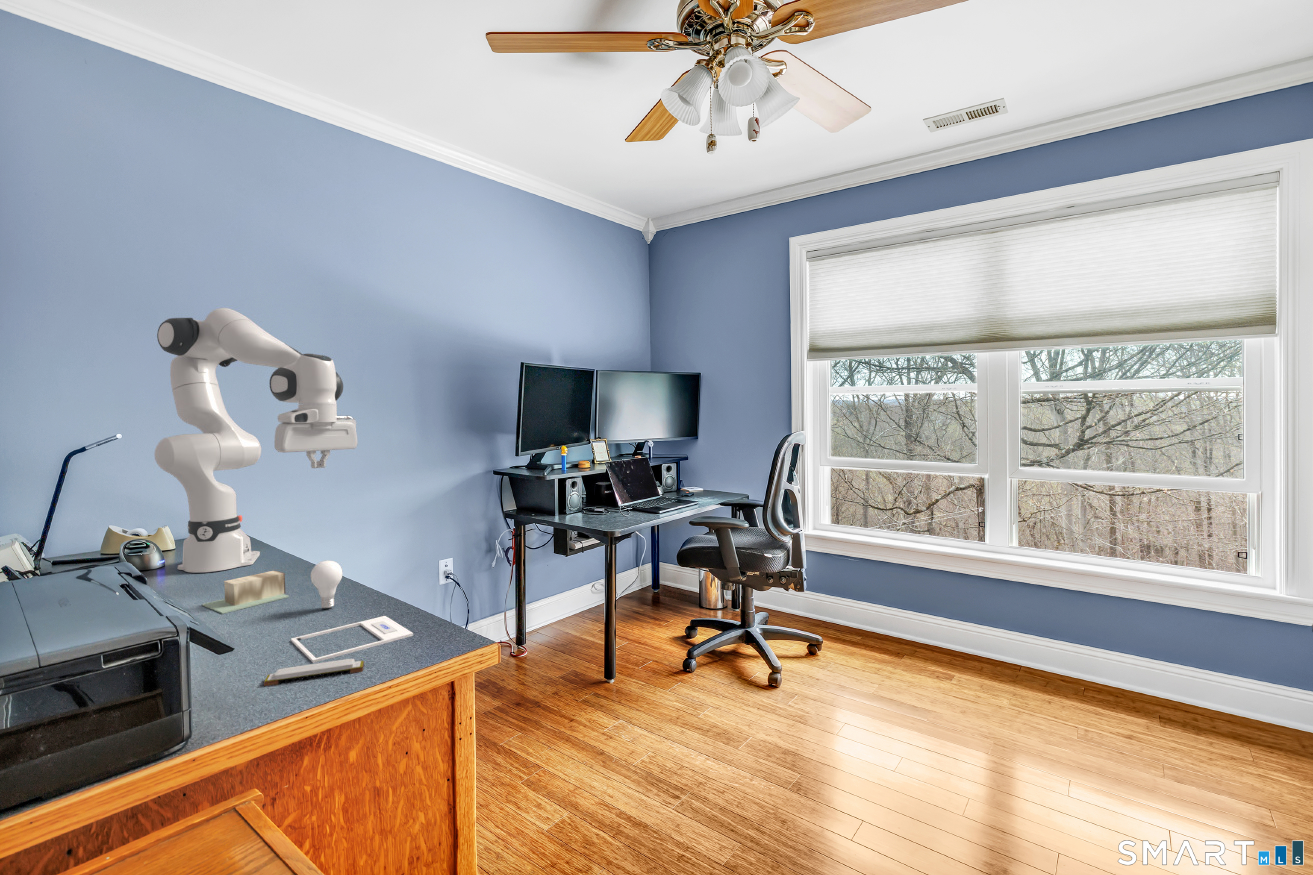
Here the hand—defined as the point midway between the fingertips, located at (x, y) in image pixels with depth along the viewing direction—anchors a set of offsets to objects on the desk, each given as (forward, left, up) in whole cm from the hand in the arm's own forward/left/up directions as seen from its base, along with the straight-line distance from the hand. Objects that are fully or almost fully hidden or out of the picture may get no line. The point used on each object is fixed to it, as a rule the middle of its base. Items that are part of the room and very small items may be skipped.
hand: (318, 467), depth 159 cm
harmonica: (+64, +15, -31) cm, 73 cm away
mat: (+15, -12, -30) cm, 36 cm away
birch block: (+10, -7, -27) cm, 30 cm away
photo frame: (+47, +18, -31) cm, 59 cm away
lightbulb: (+26, +8, -30) cm, 41 cm away
